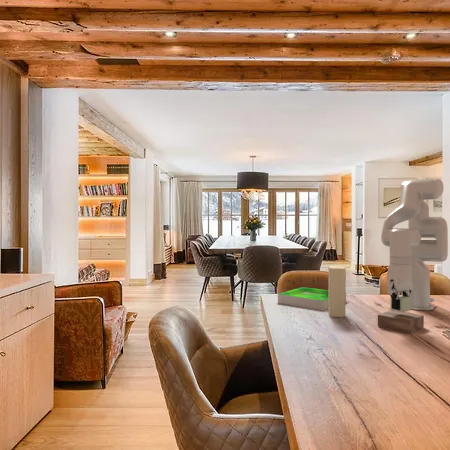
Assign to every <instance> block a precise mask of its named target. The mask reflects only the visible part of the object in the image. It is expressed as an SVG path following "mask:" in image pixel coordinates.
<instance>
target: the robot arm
mask: <svg viewBox="0 0 450 450" xmlns="http://www.w3.org/2000/svg"><path fill="white" fill-rule="evenodd" d="M443 192H444V183H443V181H442V179H440V178H425V179H412V180H406V181H403V182H402V183H400V195H399V202H398V205H397V206H398V207H397V208H396V209H395V210H393V211H392V212H391V213H390V214H389V215H388V216H387V217H386V218H385V219H384V222H383V225H382V230H381V238H380V240H381V243H382V244H383V246H385V247H389V265H388V267H387V274H386V292H387V294H389V296H390V299H391V298H392V309H396V310H400V299H399V295H400V293H401V296H406V297H410V299H411V310H415V311H432V310H434V309H435V306H434V305H432V304H431V303H432V302H435V298H433V297H431V271H430V269H429V267H428V265H427V264H426V263H425V262H435V263H436V262H437V263H440V262H445V261H447V259H448V254H449V253H448V252H449V245H448V244H449V243H448V241H449V240H448V238H449V236H448V235H449V233H448V231H449V229H448V223H447V220H446V219H445V218H443V217H441V216H440V217H439V216H438V217H437V216H434V217H431V216H430V214H429V213H430V208H429V205H428V203H427V202H426V201H428V200H438V199H439V198H441V196H442V195H443ZM425 200H426V201H425ZM407 221H408V224H407V225H408V226H407V227H408V228H403V227H402V228H398V227H397V228H395V226H396V225H399V224H401V223H403V222H407ZM423 238H424V239H425V238H426V239H429V238H430V239H431V238H432V239H435V240H422V239H423Z"/></svg>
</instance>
